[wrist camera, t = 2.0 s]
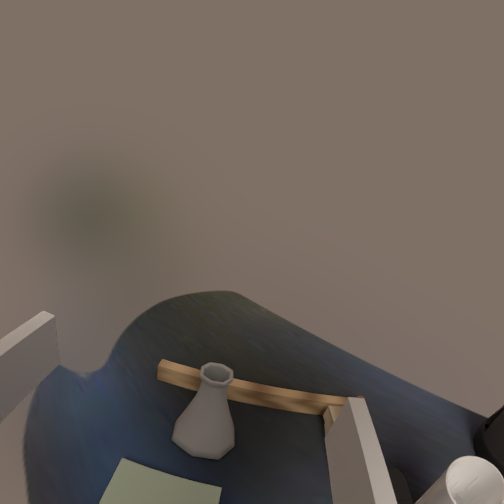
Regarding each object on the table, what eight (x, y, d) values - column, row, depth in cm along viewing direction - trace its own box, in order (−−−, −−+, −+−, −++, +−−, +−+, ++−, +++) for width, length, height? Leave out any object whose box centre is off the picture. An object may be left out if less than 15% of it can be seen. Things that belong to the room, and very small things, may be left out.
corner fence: (355, 411, 37) (363, 396, 36) (377, 499, 21) (391, 486, 21) (161, 372, 37) (162, 355, 37) (113, 457, 22) (110, 441, 21)
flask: (188, 406, 33) (197, 342, 30) (243, 427, 31) (263, 365, 29) (160, 442, 26) (163, 377, 23) (223, 469, 24) (242, 409, 22)
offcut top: (350, 416, 34) (356, 406, 33) (368, 467, 25) (377, 457, 24) (322, 416, 33) (328, 405, 33) (337, 469, 25) (345, 459, 24)
